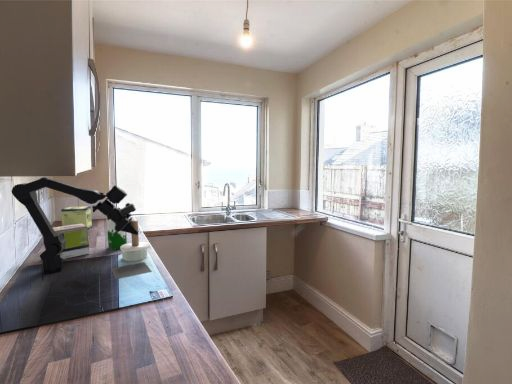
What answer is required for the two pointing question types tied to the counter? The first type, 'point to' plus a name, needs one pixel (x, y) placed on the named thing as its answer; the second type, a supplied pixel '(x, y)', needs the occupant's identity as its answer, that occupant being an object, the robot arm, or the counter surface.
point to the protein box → (76, 216)
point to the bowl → (134, 255)
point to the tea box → (74, 240)
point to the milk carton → (115, 236)
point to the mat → (130, 270)
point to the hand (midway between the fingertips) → (138, 233)
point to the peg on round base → (135, 241)
